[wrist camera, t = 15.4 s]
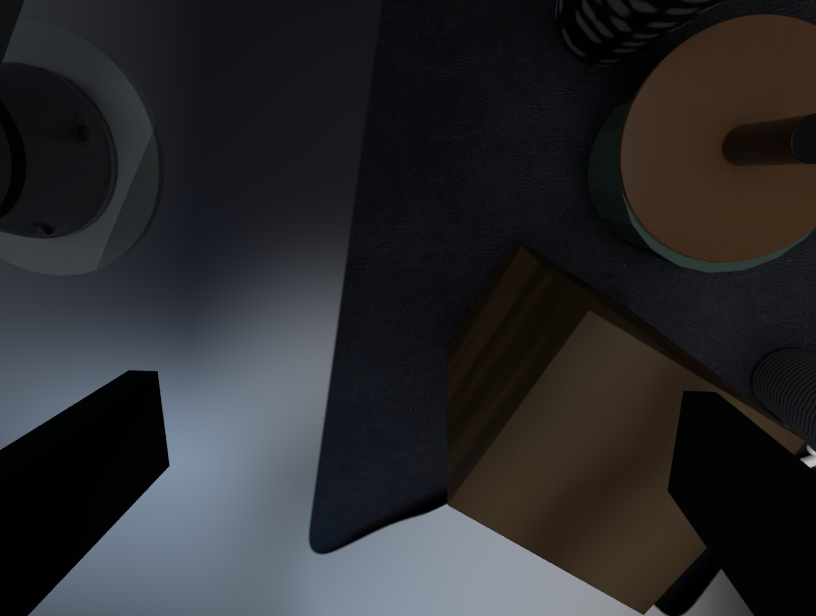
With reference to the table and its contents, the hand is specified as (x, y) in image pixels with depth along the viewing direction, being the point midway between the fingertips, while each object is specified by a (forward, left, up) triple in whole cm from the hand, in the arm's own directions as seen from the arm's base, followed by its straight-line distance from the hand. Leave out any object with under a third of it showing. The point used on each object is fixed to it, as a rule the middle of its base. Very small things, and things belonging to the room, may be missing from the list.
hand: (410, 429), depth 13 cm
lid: (+13, +17, -26) cm, 34 cm away
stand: (+12, -2, -35) cm, 37 cm away
